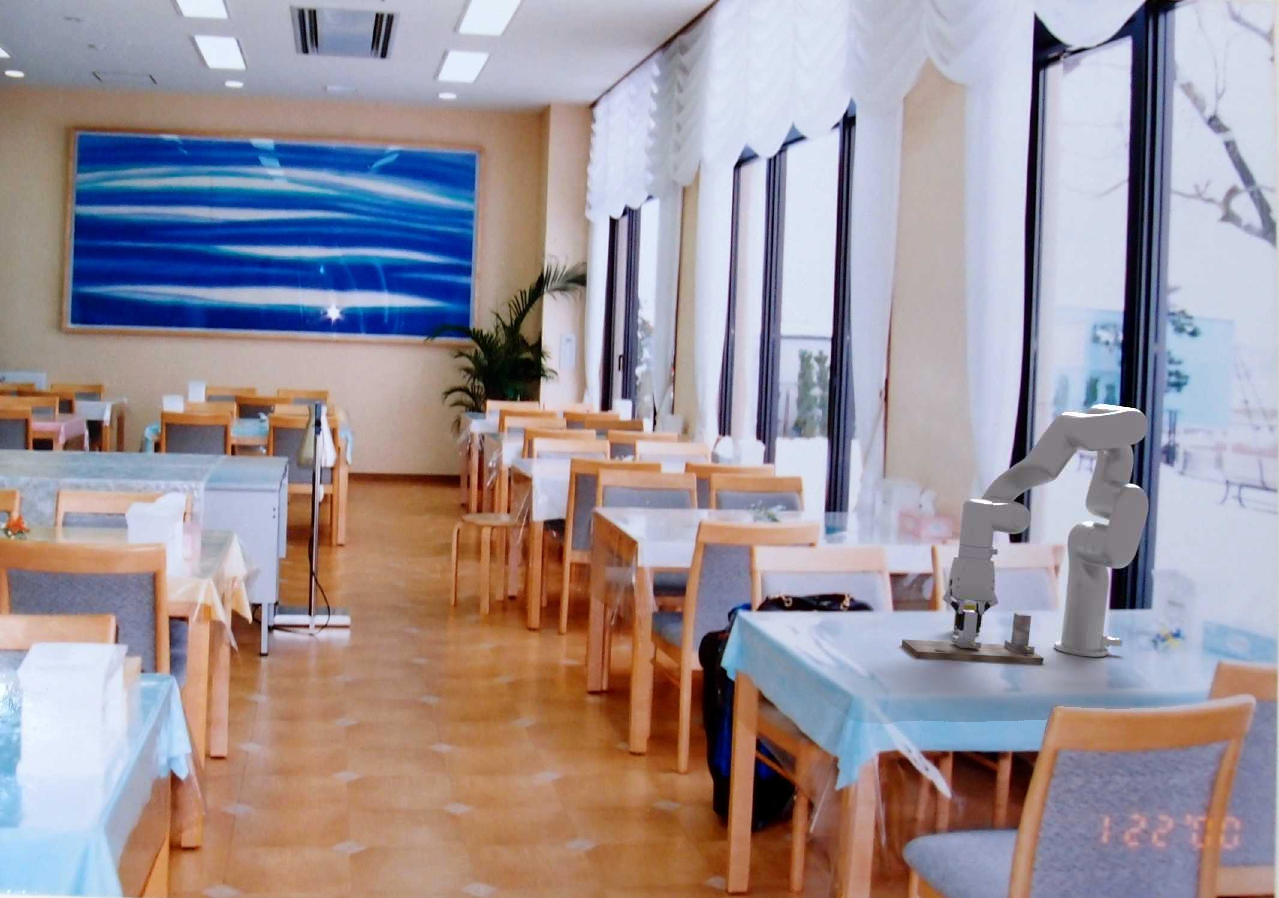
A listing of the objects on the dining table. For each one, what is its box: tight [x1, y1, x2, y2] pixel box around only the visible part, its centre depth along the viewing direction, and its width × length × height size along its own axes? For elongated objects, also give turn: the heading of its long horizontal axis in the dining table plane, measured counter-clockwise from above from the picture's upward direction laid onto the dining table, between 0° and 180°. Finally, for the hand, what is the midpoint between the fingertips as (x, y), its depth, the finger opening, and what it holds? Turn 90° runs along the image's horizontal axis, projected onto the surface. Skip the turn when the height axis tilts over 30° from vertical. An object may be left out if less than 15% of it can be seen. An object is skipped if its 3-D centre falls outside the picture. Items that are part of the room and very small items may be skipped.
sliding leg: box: [951, 610, 982, 649], centre depth 330 cm, size 5×9×8 cm, turn 6°
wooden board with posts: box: [901, 612, 1045, 665], centre depth 331 cm, size 30×12×10 cm, turn 96°
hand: (967, 629), depth 332 cm, fingers closed on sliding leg, 3 cm apart
